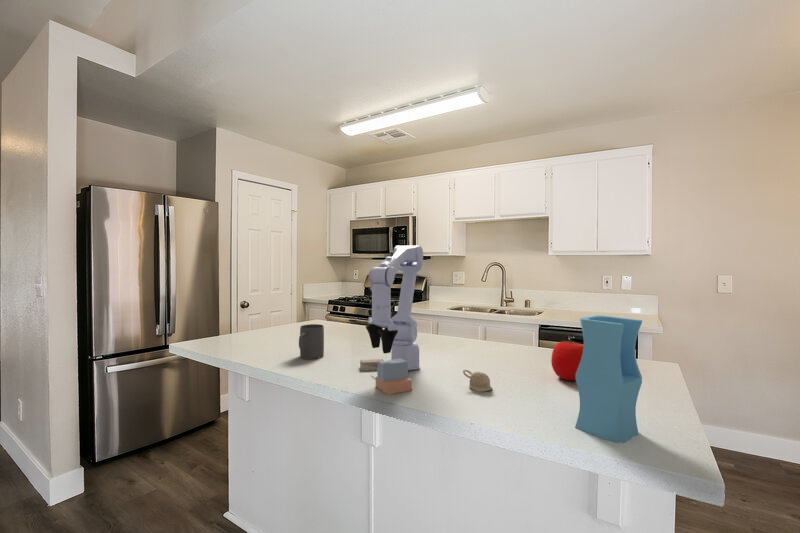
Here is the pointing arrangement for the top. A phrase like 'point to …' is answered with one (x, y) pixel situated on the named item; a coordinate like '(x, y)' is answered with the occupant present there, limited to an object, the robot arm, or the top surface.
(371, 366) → the brick
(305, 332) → the mug
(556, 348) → the tomato
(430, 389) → the top surface
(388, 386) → the base brick
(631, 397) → the vase
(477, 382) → the decorative ornament
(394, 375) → the top brick
